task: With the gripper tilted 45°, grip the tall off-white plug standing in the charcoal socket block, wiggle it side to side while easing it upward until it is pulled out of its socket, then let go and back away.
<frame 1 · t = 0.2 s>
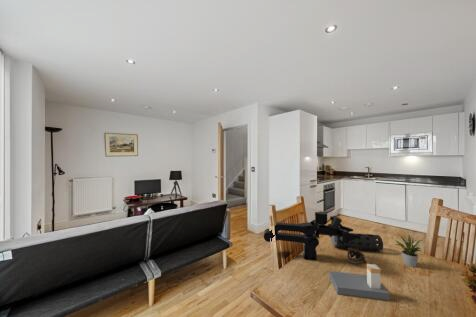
hand: (356, 233, 106), 17 cm above the table, tool horizontal, fingers open, 9 cm apart
muzzle brake: (355, 249, 122), on the table
plug: (373, 278, 82), point 6 cm above the table, slide at 0.0 cm
house plant: (411, 264, 104), on the table
socket block: (356, 287, 85), on the table
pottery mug: (355, 262, 107), on the table
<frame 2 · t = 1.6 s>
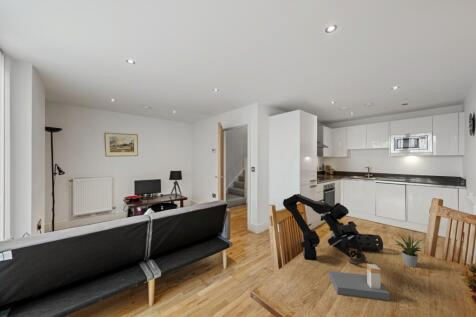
hand: (355, 254, 88), 14 cm above the table, tool tilted 45°, fingers open, 9 cm apart
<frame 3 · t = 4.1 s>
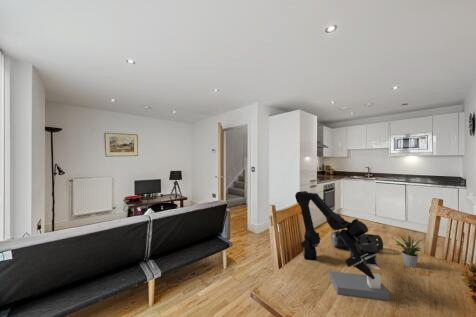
hand: (377, 277, 80), 8 cm above the table, tool tilted 45°, fingers closed on plug, 5 cm apart
plug: (373, 278, 82), point 6 cm above the table, slide at 0.0 cm, touching gripper, socket block
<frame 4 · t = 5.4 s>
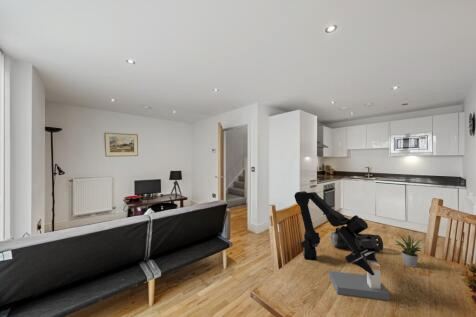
hand: (376, 273, 80), 9 cm above the table, tool tilted 45°, fingers closed on plug, 5 cm apart
plug: (373, 275, 82), point 8 cm above the table, slide at 1.6 cm, touching gripper
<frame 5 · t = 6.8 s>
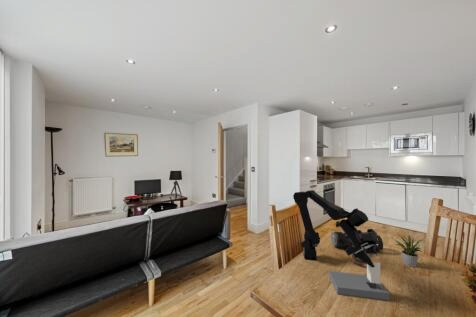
hand: (376, 265, 81), 13 cm above the table, tool tilted 45°, fingers closed on plug, 5 cm apart
plug: (373, 268, 82), point 11 cm above the table, slide at 4.7 cm, touching gripper
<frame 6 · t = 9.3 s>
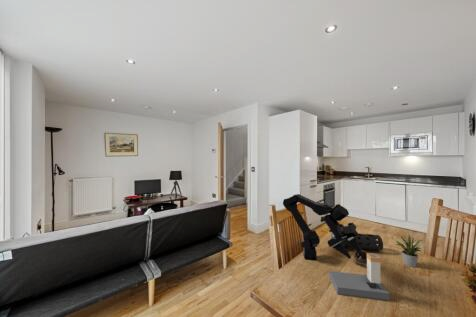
hand: (355, 255, 88), 13 cm above the table, tool tilted 45°, fingers open, 9 cm apart
plug: (373, 267, 82), point 11 cm above the table, slide at 4.8 cm
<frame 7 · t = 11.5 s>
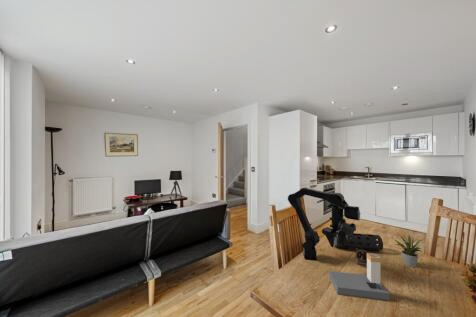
hand: (337, 245, 101), 12 cm above the table, tool pointing down, fingers open, 9 cm apart
at the end: plug slide at 4.8 cm; the gripper is holding nothing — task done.
